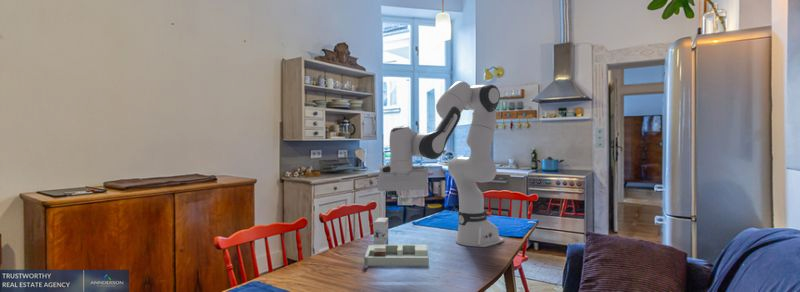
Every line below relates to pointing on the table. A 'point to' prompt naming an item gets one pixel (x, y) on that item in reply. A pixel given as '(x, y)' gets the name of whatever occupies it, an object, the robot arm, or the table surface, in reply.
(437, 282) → the table surface
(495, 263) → the table surface
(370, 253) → the tray
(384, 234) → the ink box
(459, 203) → the robot arm
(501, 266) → the table surface
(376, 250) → the block
